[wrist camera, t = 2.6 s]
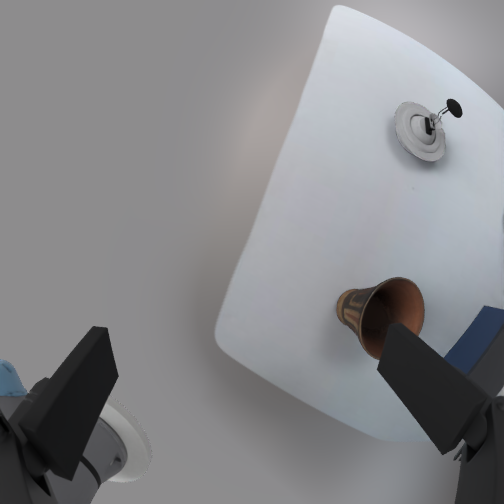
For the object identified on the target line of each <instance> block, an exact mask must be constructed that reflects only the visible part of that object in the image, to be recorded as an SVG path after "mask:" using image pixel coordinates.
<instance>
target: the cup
mask: <svg viewBox="0 0 504 504" xmlns="http://www.w3.org/2000/svg"><path fill="white" fill-rule="evenodd" d="M424 311H425V310H424V301H423V297H422V294H421V292H420V290H419V288H418V287H417V285H416V284H415V283H413V282H412V281H411V280H409V279H406V278H402V277H395V278H391V279H388V280H386V281H384V282H382V283H380V284H378V285H377V286H375V287H372V288H367V289H362V290H358V289H351V290H348V291H346V292H345V293H343V294H342V296H341V297H340V298H339V300H338V303H337V316H338V318H339V320H340V321H341V322H342V323H343V324H345V325H347V326H348V327H349V328H350V329H352V330H353V331H354V333H355V334H356V335H357V336H358V338H359V341H360V343H361V345H362V347H363V348H364V350H365V351H366V352H367V353H368V354H369V355H370V356H371V357H373V358H375V359H378V360H380V358H381V354H382V350H383V347H384V343H385V339H386V335H387V332H388V327H389V324H394V323H402V324H404V325H405V326H406V327H407V328H408V329H410V330H411V331H412V332H413V333H414V334H416V335H417V336H419V333H420V331H421V329H422V325H423V321H424Z"/></svg>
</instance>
